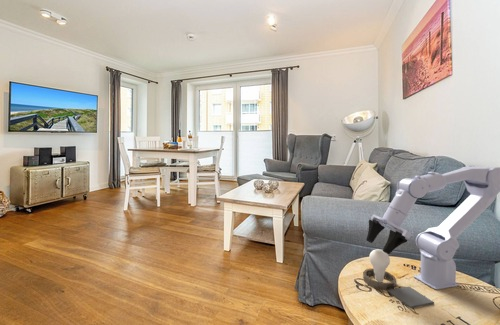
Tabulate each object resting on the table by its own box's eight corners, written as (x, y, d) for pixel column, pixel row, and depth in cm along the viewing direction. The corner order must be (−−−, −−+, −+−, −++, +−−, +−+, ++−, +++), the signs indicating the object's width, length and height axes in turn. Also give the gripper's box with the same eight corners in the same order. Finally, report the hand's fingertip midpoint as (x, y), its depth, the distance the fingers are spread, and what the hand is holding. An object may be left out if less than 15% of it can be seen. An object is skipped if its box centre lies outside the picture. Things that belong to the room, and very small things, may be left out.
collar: (380, 272, 85) (380, 267, 85) (402, 287, 76) (403, 281, 76) (357, 276, 83) (357, 270, 83) (377, 291, 74) (377, 285, 74)
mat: (409, 288, 75) (409, 286, 75) (433, 303, 68) (433, 301, 68) (388, 291, 74) (388, 289, 74) (410, 308, 66) (410, 306, 66)
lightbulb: (392, 287, 76) (393, 254, 75) (372, 285, 77) (372, 253, 76) (385, 277, 82) (386, 247, 81) (366, 276, 83) (367, 245, 82)
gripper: (373, 199, 83) (354, 232, 83) (408, 213, 69) (384, 253, 69) (387, 208, 85) (368, 240, 85) (424, 223, 71) (401, 262, 71)
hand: (376, 246), depth 77 cm, fingers open, 7 cm apart
